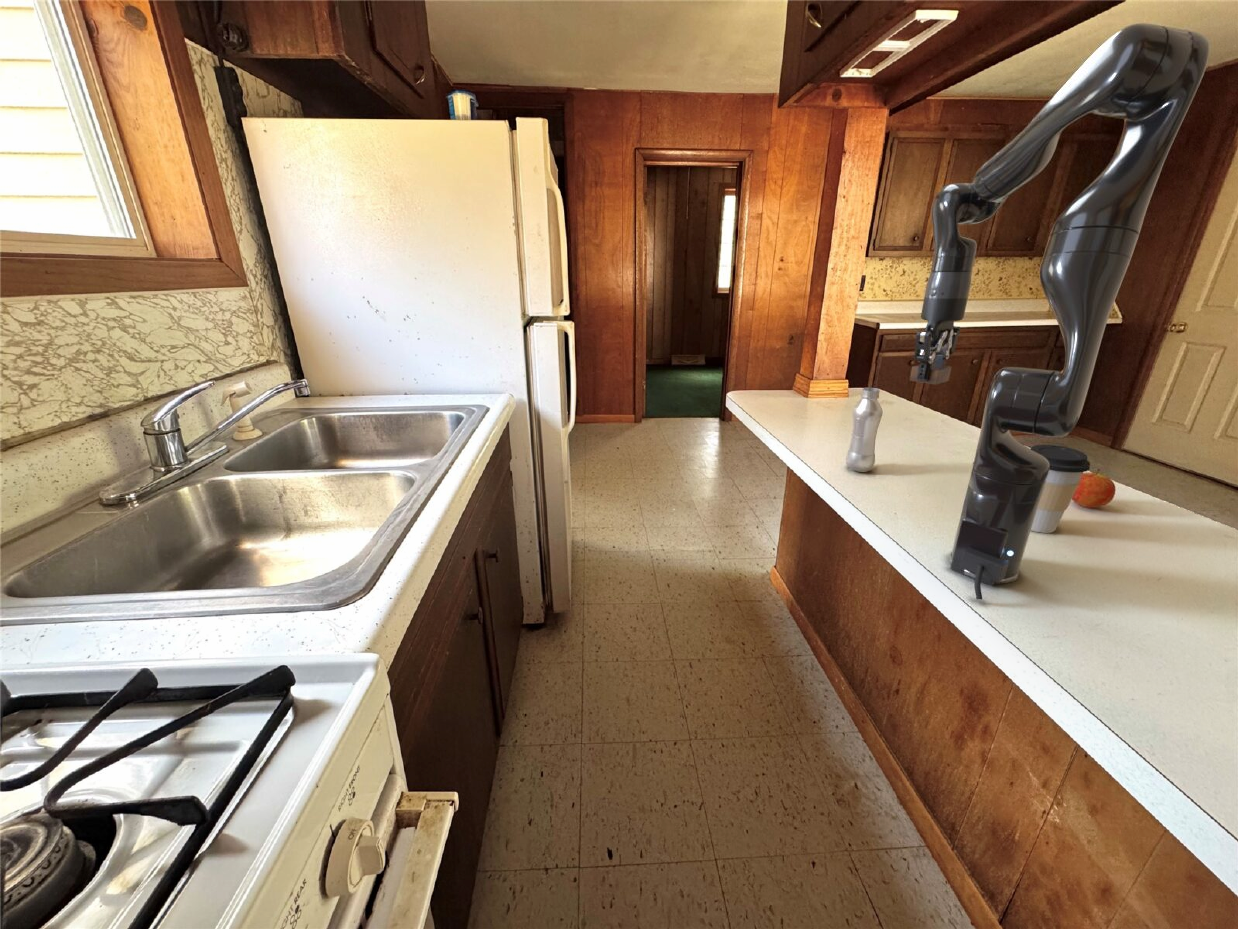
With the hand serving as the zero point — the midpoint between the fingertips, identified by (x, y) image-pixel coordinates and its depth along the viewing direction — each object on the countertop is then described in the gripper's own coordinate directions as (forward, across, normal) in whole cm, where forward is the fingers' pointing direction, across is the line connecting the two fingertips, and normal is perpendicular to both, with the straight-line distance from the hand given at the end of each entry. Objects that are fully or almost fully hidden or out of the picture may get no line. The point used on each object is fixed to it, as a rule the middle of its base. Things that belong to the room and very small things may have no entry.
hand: (929, 378), depth 109 cm
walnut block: (+1, 0, 0) cm, 1 cm away
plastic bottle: (+24, -3, +11) cm, 27 cm away
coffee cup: (+24, -3, -25) cm, 35 cm away
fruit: (+24, +14, -28) cm, 40 cm away
